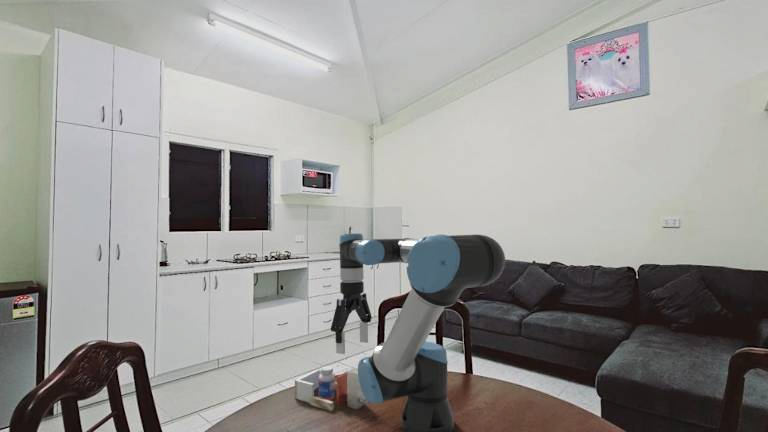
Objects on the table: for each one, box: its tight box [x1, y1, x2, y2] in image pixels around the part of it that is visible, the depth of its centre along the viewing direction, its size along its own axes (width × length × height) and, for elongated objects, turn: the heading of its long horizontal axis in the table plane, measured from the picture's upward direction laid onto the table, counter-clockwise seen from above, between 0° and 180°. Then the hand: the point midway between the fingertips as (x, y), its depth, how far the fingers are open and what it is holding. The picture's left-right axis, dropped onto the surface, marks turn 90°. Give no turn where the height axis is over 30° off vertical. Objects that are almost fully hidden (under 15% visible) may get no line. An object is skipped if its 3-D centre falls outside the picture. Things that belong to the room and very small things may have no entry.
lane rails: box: [309, 381, 337, 412], centre depth 129 cm, size 9×14×2 cm, turn 149°
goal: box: [294, 368, 336, 404], centre depth 133 cm, size 8×12×6 cm, turn 149°
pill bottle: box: [318, 365, 336, 401], centre depth 130 cm, size 6×5×10 cm
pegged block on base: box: [336, 367, 369, 410], centre depth 125 cm, size 10×6×11 cm, turn 59°
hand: (352, 347), depth 124 cm, fingers open, 13 cm apart
